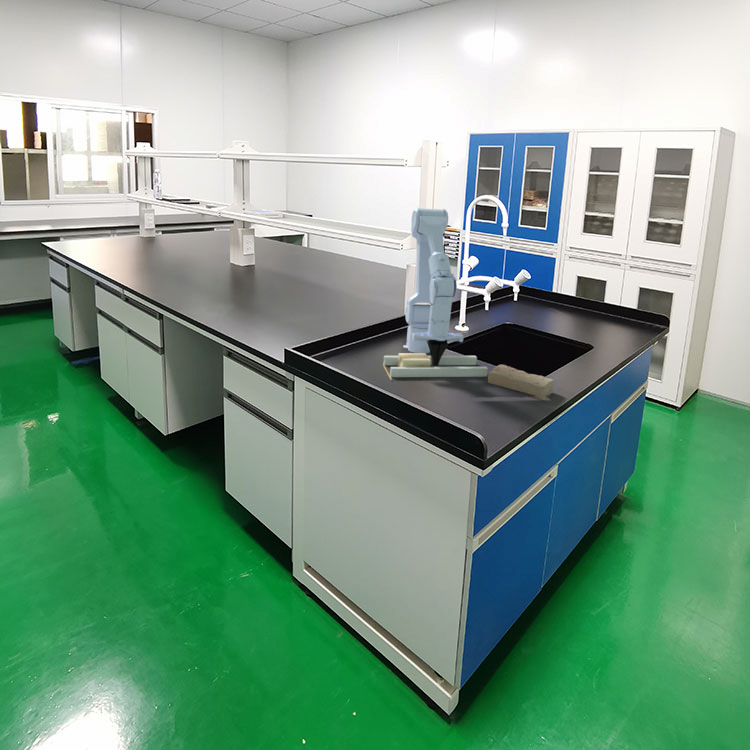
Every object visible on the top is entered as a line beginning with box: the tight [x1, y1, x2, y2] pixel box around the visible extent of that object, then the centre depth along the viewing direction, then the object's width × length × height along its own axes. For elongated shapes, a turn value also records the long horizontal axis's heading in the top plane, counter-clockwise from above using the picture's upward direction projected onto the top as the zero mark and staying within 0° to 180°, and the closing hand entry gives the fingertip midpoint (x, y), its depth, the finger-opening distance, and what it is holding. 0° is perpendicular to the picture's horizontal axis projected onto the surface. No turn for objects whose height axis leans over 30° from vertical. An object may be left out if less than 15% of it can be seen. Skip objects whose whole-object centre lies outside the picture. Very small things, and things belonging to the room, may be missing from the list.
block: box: [396, 352, 431, 367], centre depth 171 cm, size 6×8×4 cm
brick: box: [487, 364, 555, 401], centre depth 165 cm, size 17×8×5 cm, turn 57°
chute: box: [382, 355, 489, 382], centre depth 173 cm, size 12×28×3 cm, turn 101°
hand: (434, 364), depth 173 cm, fingers closed
